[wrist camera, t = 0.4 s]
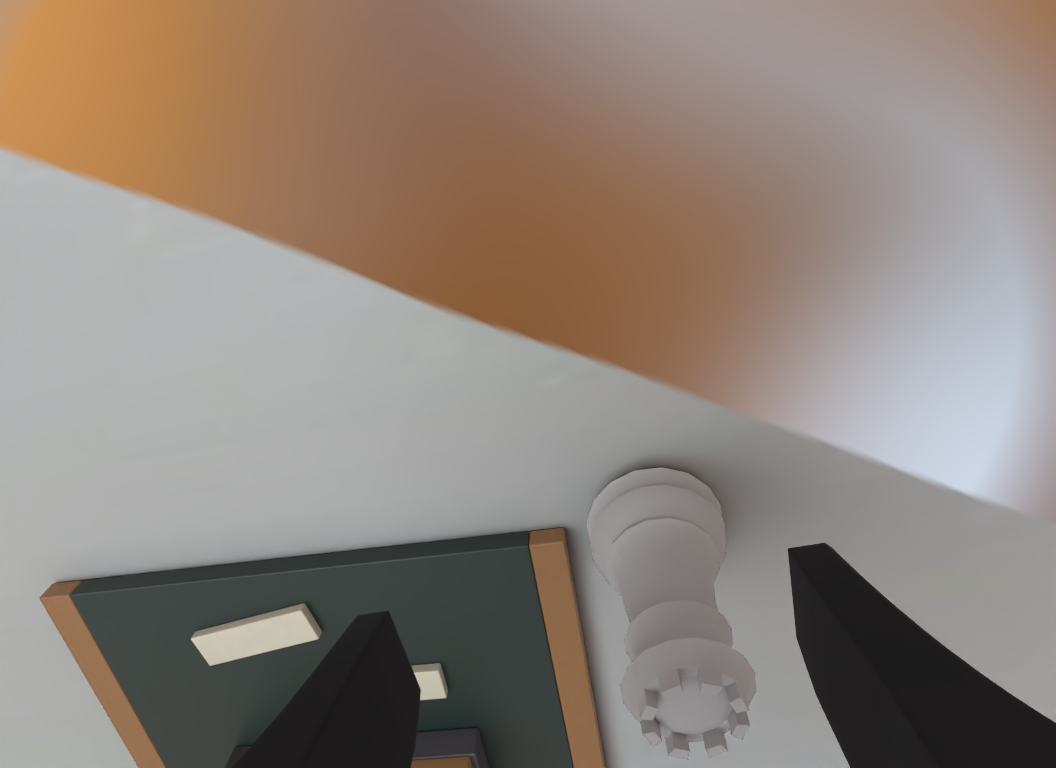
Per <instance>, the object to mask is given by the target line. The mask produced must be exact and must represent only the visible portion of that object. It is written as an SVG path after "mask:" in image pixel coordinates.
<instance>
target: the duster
mask: <svg viewBox="0 0 1056 768" xmlns="http://www.w3.org/2000/svg"><path fill="white" fill-rule="evenodd" d="M250 747H251V746H240V747H235V748H234V749H233V751H232V753H231V755H230V757H229V760H228V762H227V764H226V766H225V768H232V767H233V766H234V765H235V764H236V763H237V762H238V760H239V759H240V758H241V757H242V756H243V755H244V754H245V753H246V751H247V750H248V749H249V748H250ZM411 768H489V765H488V761H487V757H486V754H485V750H484V747H483V743H482V739H481V736H480V732H479V729H478V728H477V727H476V728H463V729H451V730H438V731H426V732H417V735H416V744H415V750H414V754H413V759H412V764H411Z"/></svg>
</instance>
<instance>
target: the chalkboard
mask: <svg viewBox="0 0 1056 768" xmlns="http://www.w3.org/2000/svg"><path fill="white" fill-rule="evenodd" d="M40 600H41V602H42V604H43V605H44V607H45V609H46V611H47V612H48V614H49V616H50V617H51V619H52V621H53V623H54V624H55V626H56V628H57V629H58V631H59V633H60V634H61V636H62V638H63V640H64V641H65V643H66V645H67V646H68V648H69V650H70V652H71V653H72V655H73V657H74V658H75V660H76V662H77V663H78V665H79V667H80V669H81V670H82V672H83V674H84V675H85V677H86V679H87V681H88V682H89V684H90V686H91V687H92V689H93V691H94V693H95V694H96V696H97V698H98V699H99V701H100V703H101V704H102V706H103V708H104V710H105V711H106V713H107V715H108V716H109V718H110V720H111V722H112V723H113V725H114V727H115V728H116V730H117V732H118V734H119V735H120V737H121V739H122V740H123V742H124V744H125V745H126V747H127V749H128V751H129V752H130V754H131V756H132V757H133V759H134V761H135V763H136V764H137V766H138V768H225V766H226V764H227V762H228V760H229V757H230V755H231V753H232V751H233V749H234V748H235V747H240V746H252V745H253V743H254V742H255V741H256V740H257V739H258V738H259V736H260V735H261V734H262V733H263V732H264V731H265V730H266V728H267V727H268V726H269V725H270V724H271V723H272V721H273V720H274V719H275V718H276V717H277V716H278V715H279V713H280V712H281V711H282V710H283V709H284V707H285V706H286V705H287V704H288V703H289V701H290V700H291V699H292V698H293V696H294V695H295V694H296V693H297V691H298V690H299V689H300V688H301V686H302V685H303V684H304V683H305V681H306V680H307V679H308V678H309V676H310V675H311V674H312V673H313V671H314V670H315V669H316V667H317V666H318V665H319V664H320V662H321V661H322V660H323V658H324V657H325V656H326V655H327V653H328V652H329V651H330V649H331V648H332V647H333V646H334V644H335V643H336V642H337V640H338V639H339V638H340V637H341V635H342V634H343V633H344V631H345V630H346V629H347V628H348V626H349V625H350V624H351V623H352V622H353V620H354V619H355V618H356V617H357V616H358V615H362V614H369V613H375V612H382V611H388V610H389V612H390V615H391V617H392V620H393V622H394V625H395V627H396V630H397V632H398V635H399V637H400V640H401V642H402V644H403V647H404V649H405V652H406V654H407V657H408V659H409V662H410V664H411V666H412V665H423V664H434V663H440V664H441V667H442V671H443V674H444V678H445V681H446V684H447V688H448V693H447V698H441V699H429V700H420V706H419V717H418V726H417V732H426V731H438V730H451V729H463V728H476V727H477V728H478V729H479V732H480V736H481V739H482V743H483V747H484V750H485V754H486V757H487V761H488V765H489V768H606V766H605V760H604V754H603V748H602V742H601V737H600V731H599V725H598V719H597V714H596V708H595V702H594V696H593V691H592V685H591V679H590V673H589V667H588V662H587V656H586V650H585V644H584V639H583V633H582V627H581V621H580V616H579V610H578V604H577V598H576V593H575V587H574V581H573V575H572V569H571V564H570V558H569V552H568V546H567V541H566V535H565V529H564V528H555V529H546V530H537V531H531V532H530V533H529V532H519V533H510V534H500V535H491V536H482V537H473V538H464V539H455V540H446V541H437V542H428V543H419V544H409V545H400V546H391V547H382V548H373V549H364V550H355V551H346V552H337V553H327V554H318V555H309V556H300V557H291V558H282V559H273V560H264V561H255V562H245V563H236V564H227V565H218V566H209V567H200V568H191V569H182V570H173V571H163V572H154V573H145V574H136V575H127V576H118V577H109V578H100V579H91V580H84V581H72V582H63V583H54V584H52V585H51V586H50V587H49V588H48V589H47V590H46V591H45V593H44V594H43V595H42V596H41V597H40ZM303 603H305V604H306V606H307V608H308V609H309V611H310V612H311V614H312V616H313V617H314V619H315V621H316V622H317V624H318V625H319V627H320V629H321V630H322V633H321V635H320V637H319V639H317V640H313V641H309V642H305V643H301V644H297V645H293V646H289V647H285V648H281V649H276V650H272V651H268V652H264V653H260V654H256V655H252V656H248V657H244V658H240V659H236V660H232V661H228V662H224V663H220V664H216V665H212V666H210V665H209V664H208V662H207V661H206V660H205V658H204V657H203V656H202V654H201V653H200V651H199V650H198V649H197V647H196V646H195V644H194V643H193V642H192V640H191V638H192V636H193V634H194V633H195V632H196V631H199V630H202V629H206V628H210V627H214V626H218V625H222V624H226V623H229V622H233V621H237V620H241V619H245V618H249V617H253V616H257V615H260V614H264V613H268V612H272V611H276V610H280V609H284V608H287V607H291V606H295V605H299V604H303Z"/></svg>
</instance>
